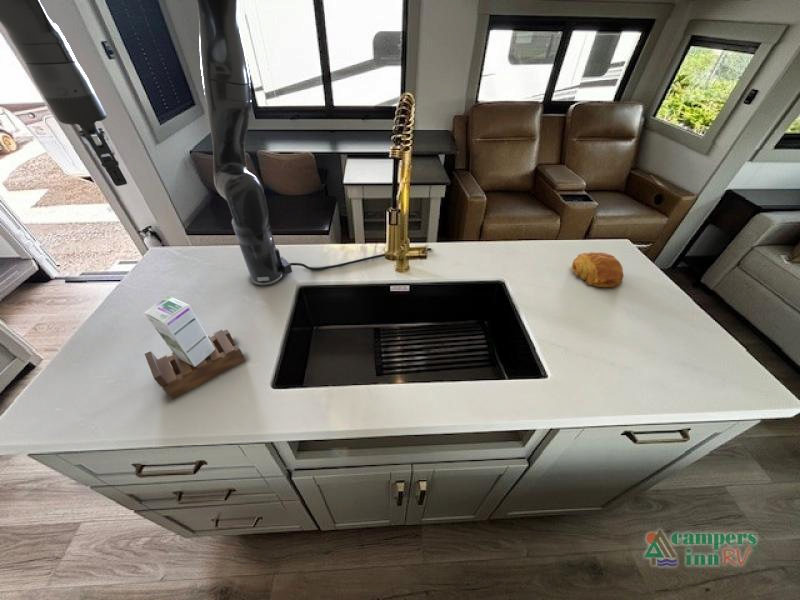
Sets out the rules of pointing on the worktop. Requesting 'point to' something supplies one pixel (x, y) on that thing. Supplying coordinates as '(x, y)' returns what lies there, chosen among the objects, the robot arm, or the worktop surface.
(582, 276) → the croissant
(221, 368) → the rack
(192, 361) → the syrup box
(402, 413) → the worktop surface
